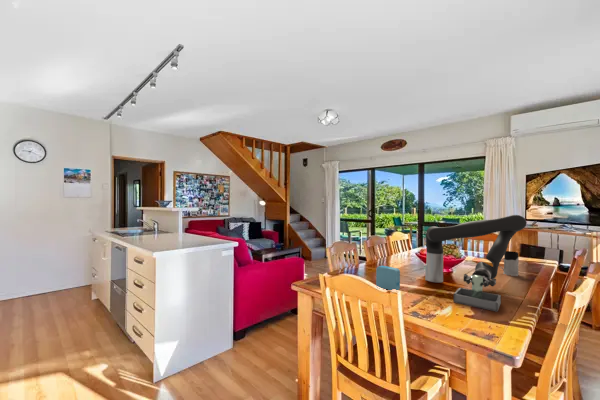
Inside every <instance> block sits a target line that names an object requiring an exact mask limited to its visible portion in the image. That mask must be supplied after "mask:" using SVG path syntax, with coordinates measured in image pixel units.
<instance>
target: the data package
mask: <svg viewBox="0 0 600 400" xmlns="http://www.w3.org/2000/svg"><path fill="white" fill-rule="evenodd" d="M375 270H376V271H375V272H376V275H375V277H376V278H375V279H376V280H375V281H376V282H375V284H376V285H377V286H379V287H381V288H384V289H388V290H392V289H396V290H398V291H399V290H400V288H401V270H400V269H399V268H397V267H392V266H388V265H387V266H386V265H378V266H377V267H376V269H375ZM377 286H376V287H377ZM384 289H383V290H384ZM388 290H387V291H388Z"/></svg>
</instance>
